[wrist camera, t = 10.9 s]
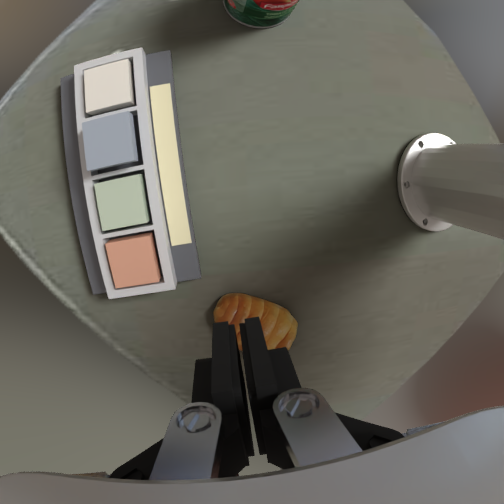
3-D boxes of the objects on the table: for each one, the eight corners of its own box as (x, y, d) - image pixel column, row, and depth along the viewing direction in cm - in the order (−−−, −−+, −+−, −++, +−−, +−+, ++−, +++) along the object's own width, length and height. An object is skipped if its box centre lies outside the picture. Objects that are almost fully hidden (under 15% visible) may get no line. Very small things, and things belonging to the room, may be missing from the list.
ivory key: (131, 64, 25) (127, 58, 23) (134, 105, 26) (130, 101, 24) (90, 75, 24) (84, 70, 23) (92, 115, 26) (86, 112, 24)
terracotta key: (152, 232, 29) (149, 235, 28) (161, 275, 30) (159, 281, 29) (110, 239, 29) (105, 243, 27) (120, 282, 30) (115, 288, 28)
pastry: (200, 322, 35) (201, 339, 32) (233, 274, 34) (237, 286, 31) (267, 357, 38) (273, 374, 34) (300, 314, 37) (310, 329, 33)
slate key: (132, 114, 25) (128, 110, 23) (138, 161, 26) (134, 160, 25) (88, 125, 25) (81, 122, 23) (93, 170, 26) (87, 171, 24)
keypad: (171, 55, 27) (168, 42, 24) (201, 273, 34) (201, 285, 30) (65, 81, 26) (52, 73, 23) (97, 289, 32) (87, 302, 29)
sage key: (143, 174, 28) (139, 174, 26) (150, 219, 29) (147, 222, 27) (100, 183, 27) (94, 184, 26) (107, 227, 29) (102, 231, 27)
